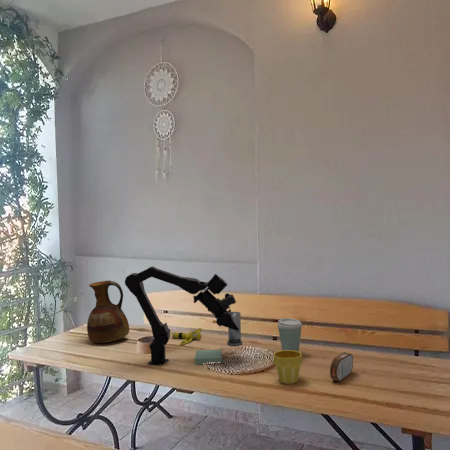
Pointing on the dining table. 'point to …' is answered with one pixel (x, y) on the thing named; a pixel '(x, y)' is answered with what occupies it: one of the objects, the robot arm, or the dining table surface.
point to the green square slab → (208, 356)
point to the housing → (234, 335)
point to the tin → (341, 366)
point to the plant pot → (288, 365)
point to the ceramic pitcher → (106, 315)
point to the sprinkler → (188, 336)
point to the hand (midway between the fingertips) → (237, 328)
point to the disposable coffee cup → (289, 333)
